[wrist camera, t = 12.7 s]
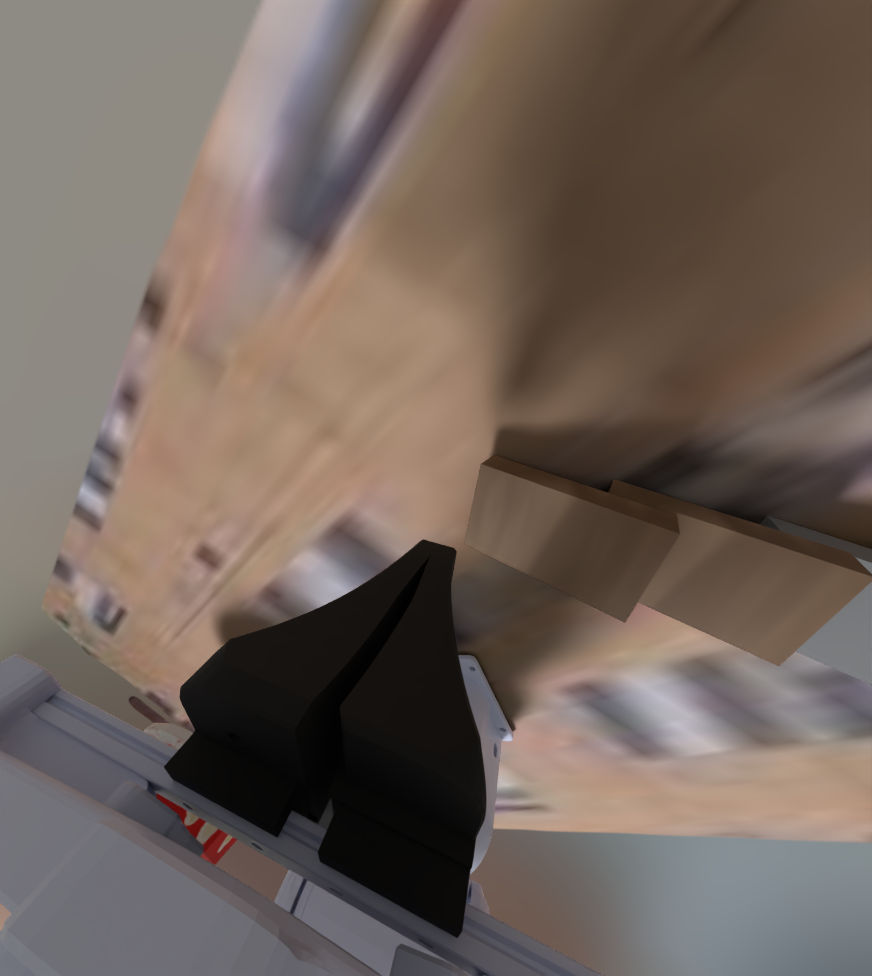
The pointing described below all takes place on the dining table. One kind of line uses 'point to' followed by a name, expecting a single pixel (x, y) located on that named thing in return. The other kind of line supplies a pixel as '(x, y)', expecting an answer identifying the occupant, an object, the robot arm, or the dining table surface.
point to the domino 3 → (840, 614)
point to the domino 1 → (569, 534)
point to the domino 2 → (746, 578)
